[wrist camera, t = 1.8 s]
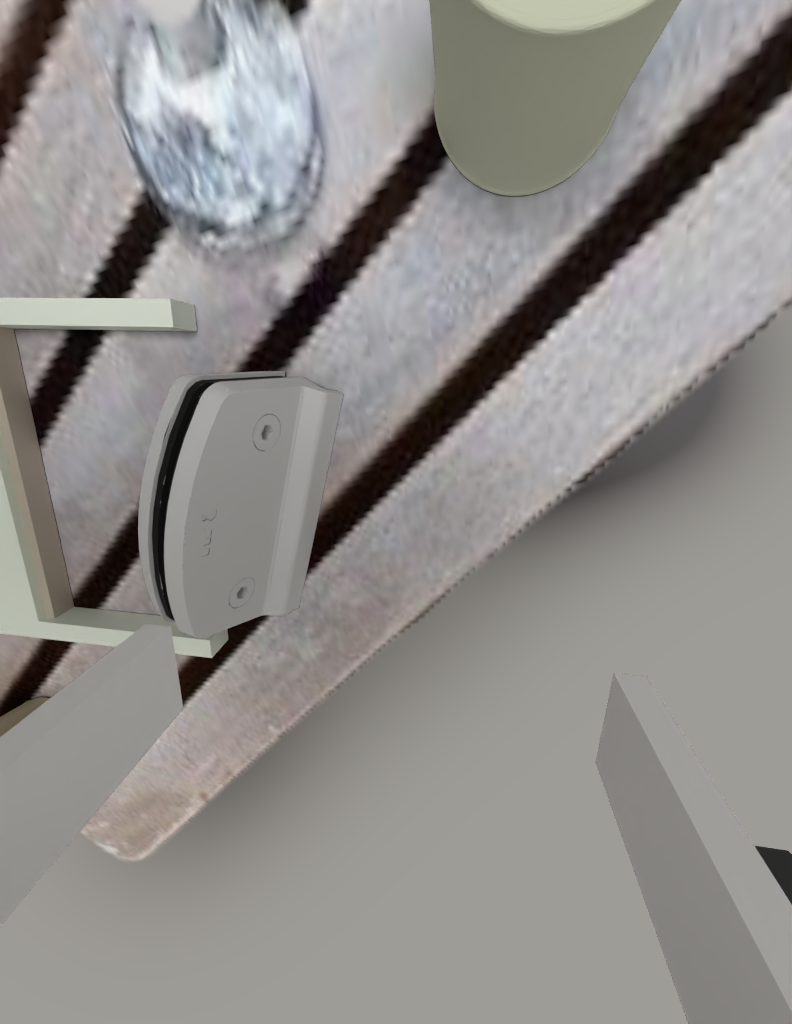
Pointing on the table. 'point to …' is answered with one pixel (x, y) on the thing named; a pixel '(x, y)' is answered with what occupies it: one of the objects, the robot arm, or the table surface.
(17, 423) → the beige flat angled piece
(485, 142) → the can
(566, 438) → the table surface
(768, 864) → the robot arm
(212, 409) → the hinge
